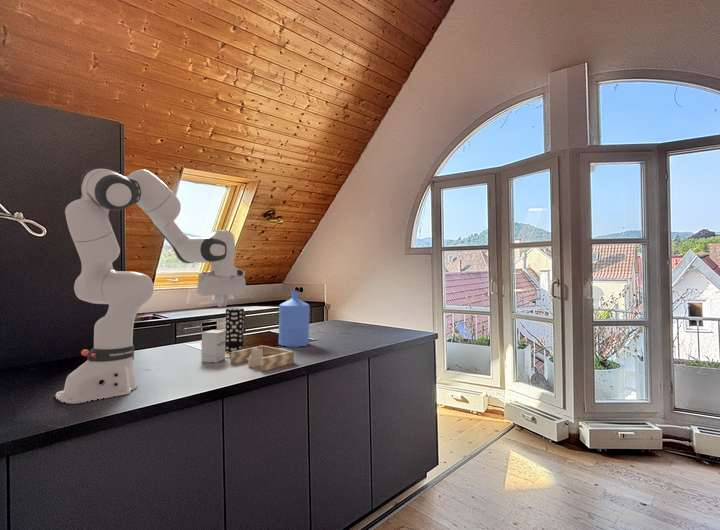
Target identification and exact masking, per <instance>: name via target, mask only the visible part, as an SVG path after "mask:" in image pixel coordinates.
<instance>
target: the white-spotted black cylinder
mask: <svg viewBox="0 0 720 530" xmlns="http://www.w3.org/2000/svg"><path fill="white" fill-rule="evenodd" d="M244 323H245V309H244V308H242V307H235V308H234V307H231V308H230V307H229V308H226V309H225V331H226V336H225V353H228V352H233V351H238V350H243V349H244V334H245V333H244V332H245V329H244V328H245V327H244V326H245V325H244Z"/></svg>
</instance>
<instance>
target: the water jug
mask: <svg viewBox="0 0 720 530" xmlns="http://www.w3.org/2000/svg"><path fill="white" fill-rule="evenodd" d="M298 291H299V290H291V297H290V299H287V300H286V301H284V302H282V303H280V304H279V308H278V313H279V315H278V316H279V318H278V320H279V322H278V341H277V342H278V345H279V346H280V345H281V347H283V346H287V347H286V348H300V347H299V346H304V347H306V346H305V345H307V346H309V344H310V311H311V309H310V304H309V303H307V302H306V301H303V300H301V299H300V298H299V297H298V295H299V292H298Z"/></svg>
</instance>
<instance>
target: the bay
mask: <svg viewBox="0 0 720 530" xmlns="http://www.w3.org/2000/svg"><path fill="white" fill-rule="evenodd" d="M262 348H263V357H264V358H261V361H260V366H259V368H260V369H259V371H260V372H266V371H270V370H273V368H274V369H277V368H281V367H284V366H283V365H285V366H287V365H286V364H289V365H291V364H290V363H293V364H295V351H294V350H289V349H285V348H279V347H278V348H277V347H273V346H268V345H258V346H253V347H249V348H243V350H238V351H233V352H231V353H230V364H231V363H232V364H231V365H235V364H234V363H236V364H239V363H238V362H240V363H244V362H243V361H245V362H248V361H247V360H248V359H247V358H248V355H249V356H250V355H251V350H255V349H262ZM280 366H281V367H280ZM276 367H277V368H276ZM269 369H270V370H269ZM265 370H266V371H265Z"/></svg>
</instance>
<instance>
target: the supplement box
mask: <svg viewBox="0 0 720 530" xmlns="http://www.w3.org/2000/svg"><path fill="white" fill-rule="evenodd" d="M225 336H226V330H217V329H210V330H207V331H206V330H205V331H203V332H201V356H200V358H201V359H200V361H201V363H211V362H215V364H217V363H218V362H221V361H223V359H224V360H225V359H226V352H225Z"/></svg>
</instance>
